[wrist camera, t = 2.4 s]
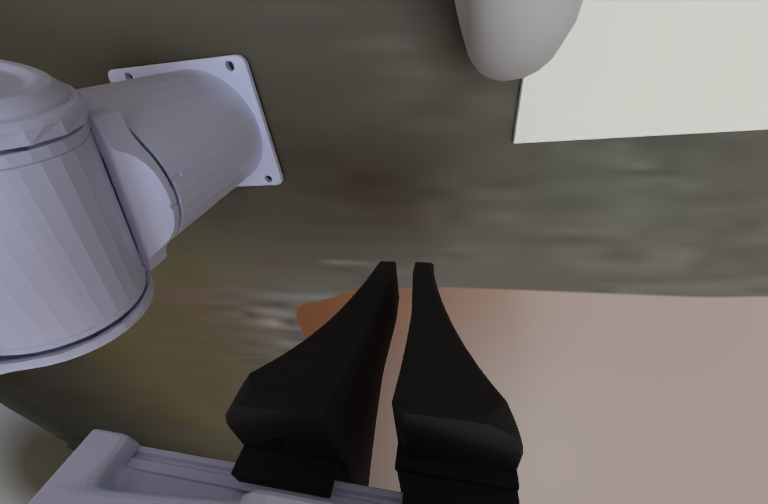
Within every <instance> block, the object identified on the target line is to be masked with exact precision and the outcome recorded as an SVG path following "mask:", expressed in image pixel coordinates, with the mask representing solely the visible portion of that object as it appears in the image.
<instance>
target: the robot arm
mask: <svg viewBox="0 0 768 504" xmlns="http://www.w3.org/2000/svg"><path fill="white" fill-rule="evenodd" d="M230 61H231V62H232V63H233V65H234V70H232V69H231V68H230V66H229V62H230ZM130 74H131V76H132V77H133V79H132V78H131V77H130ZM108 77H109V79H110V81H111V83H108V84H102V85H97V86H92V87H86V88H81V89H74V88H73V87H71V86H70V85H68V84H66V83H63V82H61V81H59V80H57V79H55V78H54V77H52V76H51V75H49V74H47V73H46V72H44V71H41V70H39V69H37V68H34V67H31V66H28V65H24V64H20V63H16V62H11V61H6V60H1V59H0V374H4V373H8V372H13V371H19V370H25V369H31V368H37V367H43V366H49V365H52V364H56V363H60V362H64V361H67V360H70V359H73V358H76V357H78V356H81V355H84V354H86V353H88V352H91V351H93V350H95V349H97V348H99V347H101V346H103V345H105V344H106V343H108V342H110V341H112V340H114V339H115V338H117V337H118V336H119V335H121V334H122V333H124V332H125V331H127V330H128V329H129V328H130V327H131V326H132V325H133V324H135V323H136V322H137V321H138V320H139V318H140V317H141V316H142V315H143V314H144V313H145V311H146V310H147V308H148V307H149V305H150V303H151V300H152V298H153V293H154V283H153V279H152V276H151V274H150V273H149V272H150V271H151V270H152V269H153V268H154V267H156V266H157V265H158V264H159V263H160V262H161V261H163V260H164V259H165V258H166V257H167V254H166V247H167V244H168V243H169V242H170V241H171V239H173V238H174V237H175V236H176V235H178V234H179V233H180V232H181V231H183V230H184V229H185V228H186V227H187V226H189V225H190V224H191V223H192V222H194V221H195V220H196V219H197V218H199V217H200V216H201V215H202V214H203V213H205V212H206V211H207V210H208V209H210V208H211V207H212V206H213V205H214V204H216V203H217V202H218V201H219V200H221V199H222V198H223V197H224V196H225V195H227V194H228V193H229V192H230V191H232V190H233V189H234V188H235V187H237V186H263V185H279V184H281V183H282V182H283V179H284V178H283V174H282V171H281V167H280V164H279V161H278V158H277V155H276V151H275V148H274V145H273V142H272V138H271V135H270V132H269V129H268V126H267V122H266V119H265V116H264V113H263V109H262V106H261V103H260V100H259V96H258V93H257V90H256V87H255V84H254V80H253V77H252V74H251V71H250V67H249V64H248V62H247V60H246V59H245V58H244V57H243V56H242V55H238V54H237V55H228V56H220V57H212V58H204V59H195V60H187V61H179V62H170V63H162V64H154V65H146V66H137V67H129V68H121V69H113V70H110V71H109V72H108ZM267 175H268V176H270V177H271V178H272V180H270V179H268V177H267ZM398 302H399V293H398V282H397V271H396V262H388V261H381V262H380V263H379V264H378V265H377V267H376V268H375V269H374V271H373V272H372V274H371V275H370V276H369V277H368V279H367V280H366V281H365V283H364V284H363V285H362V286H361V287H360V289H359V290H358V291H357V292H356V293H355V295H354V296H353V297H352V298H351V299H350V300H349V301H348V302H347V303H346V304H345V305H344V307H343V308H342V309H341V310H340V311H339V312H338V313H337V314H335V315H334V316H333V317H332V318H331V319H330V320H329V321H328V322H327V323H326V324H325V325H323V326H322V327H321V328H320V329H318V330H317V331H316V332H315V333H314V334H312V335H311V336H310V337H308V338H307V339H306V340H304V341H303V342H302V343H300V344H299V345H297V346H296V347H294V348H293V349H291V350H290V351H288V352H287V353H285V354H283V355H282V356H280V357H278V358H277V359H275V360H273V361H272V362H270V363H268V364H266V365H264V366H263V367H261V368H259V369H257V370H255V371H254V372H252V373H250V374H249V376H248V377H247V379H246V380H245V382H244V383H243V385H242V386H241V388H240V390H239V392H238V393H237V395H236V397H235V399H234V401H233V402H232V404H231V406H230V408H229V409H228V411H227V413H226V422H227V424H228V425H229V427H230V429H231V430H232V431H233V432H234V433H235V435H236V436H237V437H238V438H239V439H240V441H241V442H242V443H243V444H244V447H243V449H242V451H241V453H240V455H239V457H238V459H237V461H236V463H233V462H227V461H222V460H216V459H210V458H205V457H199V456H194V455H188V454H182V453H177V452H171V451H165V450H160V449H154V448H148V447H143V446H139V444H138V443H137V442H136V441H135V440H134V439H132V438H131V437H129V436H127V435H124V434H121V433H116V432H111V431H105V430H99V429H95V430H93V431H92V432H91V433H90V434H89V435H88V436H87V437H86V439H85V440H84V441H83V442H82V443H81V444H80V445H79V446H78V448H77V449H76V450H75V451H74V452H73V453H72V454H71V456H70V457H69V458H68V459H67V460H66V461H65V462H64V463H63V465H62V466H61V467H60V468H59V469H58V470H57V471H56V473H55V474H54V475H53V476H52V477H51V478H50V479H49V480H48V482H47V483H46V484H45V485H44V486H43V487H42V488H41V490H40V491H39V492H38V493H37V494H36V495H35V496H34V497H33V499H32V500H31V501H30V502H29V503H28V504H519V498H518V490H519V482H518V475H517V468H518V465H519V463H520V460H521V457H522V455H523V445H522V441H521V437H520V434H519V431H518V428H517V425H516V422H515V420H514V417H513V415H512V413H511V410H510V408H509V406H508V404H507V402H506V400H505V399H504V398H503V397H502V395H501V394H500V393H499V392H498V391H497V390H496V389H495V387H494V386H493V385H492V384H491V382H490V381H489V380H488V379H487V377H486V376H485V375H484V373H483V372H482V371H481V369H480V368H479V367H478V365H477V364H476V363H475V361H474V359H473V358H472V356H471V355H470V353H469V352H468V351H467V349H466V347H465V346H464V344H463V342H462V341H461V339H460V337H459V336H458V334H457V332H456V330H455V329H454V327H453V325H452V323H451V321H450V319H449V316H448V314H447V312H446V310H445V308H444V305H443V303H442V300H441V297H440V294H439V291H438V288H437V285H436V281H435V277H434V265H433V264H432V263H424V262H416V263H415V267H414V271H413V290H412V314H411V321H410V326H409V332H408V337H407V342H406V347H405V352H404V356H403V361H402V365H401V369H400V373H399V377H398V381H397V385H396V389H395V393H394V396H393V400H392V407H393V413H394V419H395V426H396V431H397V438H398V447H397V455H396V463H395V470H397V472H398V478H399V482H400V488H401V492H397V491H390V490H385V489H380V488H374V487H368V484H369V476H370V467H371V466H370V465H371V457H372V449H373V441H374V433H375V425H376V417H377V410H378V403H379V396H380V389H381V383H382V376H383V371H384V367H385V362H386V358H387V355H388V351H389V347H390V342H391V339H392V335H393V331H394V327H395V323H396V318H397V310H398Z"/></svg>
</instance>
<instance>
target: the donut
mask: <svg viewBox="0 0 768 504" xmlns="http://www.w3.org/2000/svg"><path fill="white" fill-rule="evenodd" d="M454 1H455V6H456V11H457V16H458V20H459V24H460V29H461V32H462V36H463V39H464V43H465V46H466V50H467V53H468V56H469V58H470V60H471V62H472V63H473V65H474V66H475V67H476V69H477V70H478V71H479V73H481V74H483V75H484V76H486V77H487V78H489V79H492V80H498V81H508V80H514V79H520V78H525V77H527V76H529V75H531V74H533V73H535V72H537V71H539V70H540V69H541V68H542V67H543V66H544V65H546V64H547V63H548V62H549V61H550V60H551V59H552V58H553V57H554V55H555V54H556V52H557V51H558V49H559V48H560V46H561V45H562V43H563V42H564V40H565V38H566V37H567V35H568V34H569V32H570V30H571V29H572V27H573V26H574V24H575V23H576V20H577V17H578V14H579V11H580V8H581V5H582V2H583V0H454Z"/></svg>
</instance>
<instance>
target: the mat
mask: <svg viewBox="0 0 768 504" xmlns="http://www.w3.org/2000/svg"><path fill="white" fill-rule="evenodd" d="M766 129H768V0H583V2H582V5H581V8H580V11H579V14H578V17H577V20H576V23H575V24H574V26H573V27H572V29H571V30H570V32H569V34H568V35H567V37H566V38H565V40H564V42H563V43H562V45H561V46H560V48H559V49H558V51H557V52H556V54H555V55H554V57H553V58H552V59H551V60H550V61H549V62H548V63H547V64H546V65H544V66H543V67H542V68H541V69H540V70H539V71H537V72H535V73H533V74H531V75H529V76H527V77H525V78H522V79H521V86H520V93H519V100H518V107H517V114H516V121H515V128H514V135H513V143H532V142H550V141H568V140H586V139H604V138H622V137H640V136H658V135H676V134H694V133H712V132H730V131H748V130H766Z"/></svg>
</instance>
